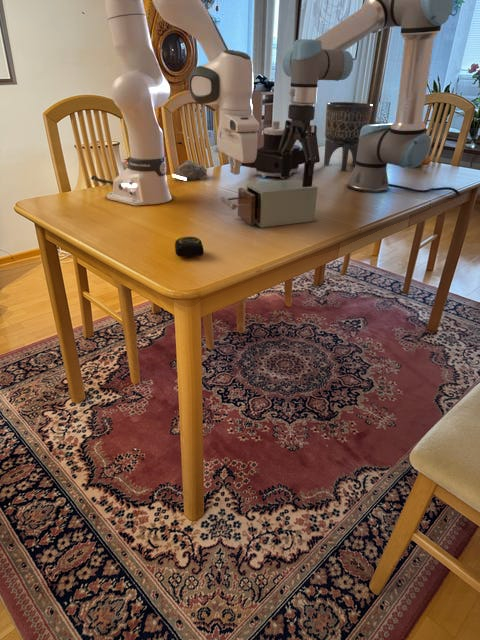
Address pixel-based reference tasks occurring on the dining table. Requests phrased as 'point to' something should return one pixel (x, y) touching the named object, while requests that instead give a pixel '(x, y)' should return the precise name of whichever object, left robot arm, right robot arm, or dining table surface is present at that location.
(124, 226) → the dining table surface
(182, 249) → the tape measure
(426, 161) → the toy
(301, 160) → the mechanical component
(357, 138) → the planter
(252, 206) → the drawer
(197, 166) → the rock
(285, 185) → the cabinet
